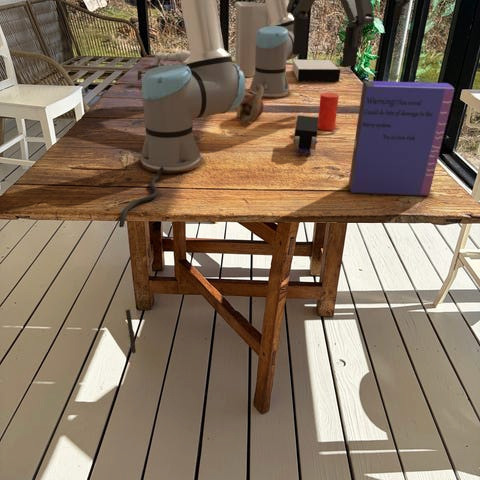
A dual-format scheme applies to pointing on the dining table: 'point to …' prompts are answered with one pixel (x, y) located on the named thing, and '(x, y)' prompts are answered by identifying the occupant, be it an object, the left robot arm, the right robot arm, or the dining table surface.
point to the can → (327, 111)
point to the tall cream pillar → (249, 33)
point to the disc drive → (316, 70)
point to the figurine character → (305, 134)
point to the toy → (172, 57)
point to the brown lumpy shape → (250, 106)
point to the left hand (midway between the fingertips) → (322, 59)
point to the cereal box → (399, 137)
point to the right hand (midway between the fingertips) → (378, 26)
